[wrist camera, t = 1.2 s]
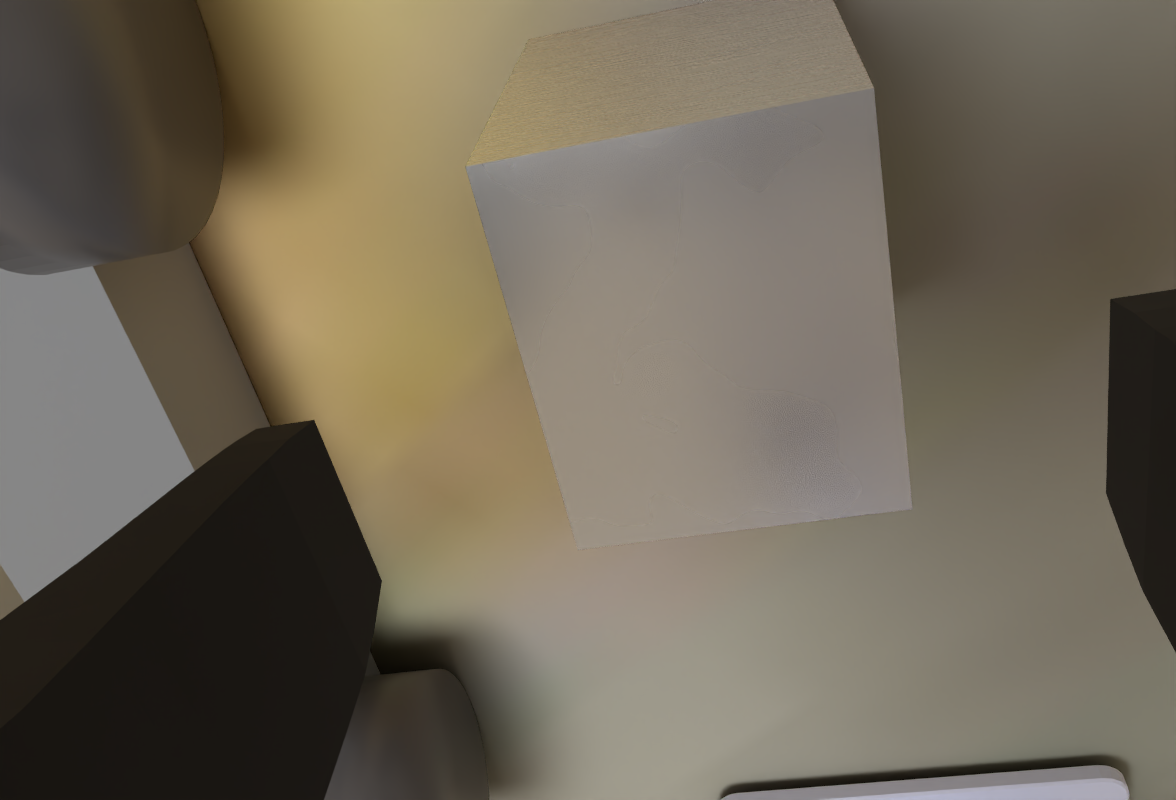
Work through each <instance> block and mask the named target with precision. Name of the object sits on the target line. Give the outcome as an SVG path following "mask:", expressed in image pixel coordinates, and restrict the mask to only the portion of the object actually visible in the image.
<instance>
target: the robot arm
mask: <svg viewBox="0 0 1176 800" xmlns="http://www.w3.org/2000/svg"><path fill="white" fill-rule="evenodd" d="M1106 494H1107V497H1108V500H1109V503H1110V505H1111V508H1112V511H1113V514H1114V516H1115V519H1116V522H1117V525H1118V527H1119V530H1120V533H1121V536H1122V538H1123V541H1124V544H1125V547H1126V549H1127V552H1128V554H1129V557H1130V559H1131V562H1132V565H1133V567H1134V570H1135V572H1136V575H1137V577H1138V580H1139V582H1140V585H1141V588H1142V590H1143V592H1144V594H1145V596H1146V598H1147V600H1148V602H1149V604H1150V605H1151V607H1152V609H1153V611H1154V613H1155V615H1156V617H1157V619H1158V620H1159V622H1160V624H1161V626H1162V628H1163V630H1164V631H1165V633H1166V635H1167V637H1168V639H1169V641H1170V642H1171V644H1172V646H1173V648H1174V650H1175V652H1176V289H1174V290H1168V291H1161V292H1154V293H1148V294H1141V295H1135V296H1128V297H1121V298H1115V299H1111V300H1110V345H1109V389H1108V433H1107V478H1106ZM381 582H382V580H381V578H380V576H379V573H378V571H377V568H376V566H375V564H374V561H373V559H372V557H371V554H370V552H369V549H368V547H367V545H366V542H365V540H364V538H363V535H362V533H361V530H360V528H359V526H358V523H357V521H356V519H355V516H354V514H353V511H352V509H351V507H350V504H349V502H348V499H347V497H346V495H345V492H344V490H343V488H342V485H341V483H340V480H339V478H338V476H337V473H336V471H335V469H334V466H333V464H332V461H331V459H330V457H329V454H328V452H327V450H326V447H325V445H324V442H323V440H322V438H321V435H320V433H319V431H318V428H317V426H316V423H315V421H314V420H311V421H304V422H298V423H291V424H284V425H278V426H271V427H265V428H258V429H255V430H253V431H252V432H250V433H248V434H247V435H245V436H243V437H242V438H240V439H238V440H237V441H235V442H234V443H232V444H231V445H229V446H228V447H227V448H225V449H224V450H222V451H221V452H220V453H218V454H217V455H215V456H214V457H213V458H211V459H210V460H209V461H207V462H206V463H205V464H203V465H202V466H201V467H199V468H198V469H197V470H195V471H194V472H193V473H192V474H190V475H189V476H188V477H186V478H185V479H184V480H182V481H181V482H180V483H179V484H177V485H176V486H175V487H174V488H172V489H171V490H170V491H168V492H167V493H166V494H165V495H163V496H162V497H161V498H160V499H158V500H157V501H156V502H154V503H153V504H152V505H151V506H149V507H148V508H147V509H146V510H144V511H143V512H142V513H140V514H139V515H138V516H137V517H135V518H134V519H133V520H132V521H130V522H129V523H128V524H127V525H125V526H124V527H123V528H121V529H120V530H119V531H118V532H116V533H115V534H114V535H113V536H111V537H110V538H109V539H107V540H106V541H105V542H104V543H102V544H101V545H100V546H99V547H97V548H96V549H95V550H93V551H92V552H91V553H90V554H88V555H87V556H86V557H84V558H83V559H82V560H81V561H79V562H78V563H77V564H75V565H74V566H72V567H71V568H70V569H68V570H67V571H66V572H64V573H63V574H62V575H60V576H59V577H58V578H56V579H55V580H54V581H52V582H51V583H49V584H48V585H47V586H45V587H44V588H43V589H41V590H40V591H39V592H37V593H36V594H35V595H33V596H32V597H31V598H29V599H28V600H26V601H25V602H24V603H22V604H21V605H20V606H18V607H17V608H16V609H14V610H13V611H12V612H10V613H9V614H8V615H6V616H5V617H4V618H2V619H1V620H0V800H324V798H325V795H326V792H327V789H328V786H329V783H330V781H331V778H332V775H333V772H334V769H335V766H336V763H337V760H338V757H339V754H340V751H341V748H342V745H343V742H344V739H345V736H346V733H347V730H348V726H349V723H350V720H351V717H352V714H353V711H354V708H355V705H356V702H357V699H358V696H359V693H360V689H361V686H362V683H363V680H364V676H365V673H366V668H367V663H368V658H369V653H370V648H371V643H372V638H373V633H374V627H375V621H376V614H377V608H378V602H379V595H380V589H381ZM721 800H1129V790H1128V787H1127V784H1126V782H1125V779H1124V777H1123V774H1122V773H1121V772H1120V771H1119V770H1117V769H1115V768H1113V767H1110V766H1106V765H1091V766H1078V767H1065V768H1052V769H1039V770H1026V771H1013V772H1001V773H988V774H975V775H962V776H949V777H936V778H923V779H910V780H897V781H885V782H872V783H859V784H846V785H833V786H820V787H807V788H794V789H781V790H769V791H756V792H743V793H734V794H730V795H727V796H726V797H724V798H722V799H721Z"/></svg>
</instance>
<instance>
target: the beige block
mask: <svg viewBox="0 0 1176 800" xmlns="http://www.w3.org/2000/svg"><path fill="white" fill-rule="evenodd" d="M465 167H466V170H467V174H468V177H469V181H470V184H471V187H472V191H473V194H474V198H475V201H476V204H477V208H478V211H479V215H480V218H481V221H482V225H483V228H484V232H485V235H486V239H487V242H488V245H489V249H490V252H491V256H492V259H493V262H494V266H495V269H496V273H497V276H498V279H499V283H500V286H501V290H502V293H503V296H504V300H505V303H506V307H507V310H508V314H509V317H510V320H511V324H512V327H513V331H514V334H515V337H516V341H517V344H518V348H519V351H520V354H521V358H522V361H523V365H524V368H525V371H526V375H527V378H528V382H529V385H530V389H531V392H532V395H533V399H534V402H535V406H536V409H537V412H538V416H539V419H540V423H541V426H542V429H543V433H544V436H545V440H546V443H547V447H548V450H549V453H550V457H551V460H552V464H553V467H554V470H555V474H556V477H557V481H558V484H559V487H560V491H561V494H562V498H563V501H564V504H565V508H566V511H567V515H568V518H569V522H570V525H571V528H572V532H573V535H574V539H575V542H576V545H577V549H578V550H584V549H592V548H600V547H608V546H616V545H625V544H633V543H641V542H649V541H657V540H665V539H673V538H682V537H690V536H698V535H706V534H714V533H722V532H730V531H739V530H747V529H755V528H763V527H771V526H779V525H787V524H796V523H804V522H812V521H820V520H828V519H836V518H844V517H853V516H861V515H869V514H877V513H885V512H893V511H901V510H910V509H912V498H911V487H910V476H909V465H908V454H907V443H906V432H905V421H904V410H903V399H902V388H901V377H900V366H899V355H898V345H897V334H896V323H895V312H894V301H893V290H892V279H891V268H890V257H889V246H888V235H887V224H886V213H885V202H884V191H883V181H882V170H881V159H880V148H879V137H878V126H877V115H876V104H875V93H874V87H873V85H872V82H871V80H870V78H869V76H868V74H867V72H866V70H865V67H864V65H863V63H862V61H861V59H860V57H859V55H858V52H857V50H856V48H855V46H854V44H853V42H852V40H851V37H850V35H849V33H848V31H847V29H846V27H845V24H844V22H843V20H842V18H841V16H840V14H839V12H838V9H837V7H836V5H835V3H834V1H833V0H712V1H708V2H703V3H698V4H694V5H689V6H684V7H680V8H675V9H670V10H665V11H661V12H656V13H651V14H647V15H642V16H637V17H632V18H628V19H623V20H618V21H614V22H609V23H604V24H600V25H595V26H590V27H585V28H581V29H576V30H571V31H567V32H562V33H557V34H552V35H548V36H543V37H538V38H534V39H529V40H528V41H527V43H526V45H525V47H524V49H523V51H522V53H521V55H520V58H519V60H518V62H517V64H516V66H515V68H514V70H513V72H512V74H511V76H510V78H509V80H508V82H507V84H506V86H505V88H504V90H503V92H502V94H501V96H500V98H499V100H498V102H497V104H496V106H495V108H494V110H493V112H492V114H491V116H490V118H489V120H488V122H487V124H486V126H485V128H484V130H483V132H482V134H481V136H480V138H479V140H478V142H477V144H476V146H475V148H474V150H473V152H472V154H471V156H470V158H469V160H468V162H467V164H466V166H465Z"/></svg>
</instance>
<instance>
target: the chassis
mask: <svg viewBox="0 0 1176 800" xmlns="http://www.w3.org/2000/svg"><path fill="white" fill-rule="evenodd" d="M223 160H224V125H223V112H222V104H221V96H220V89H219V84H218V78H217V73H216V68H215V64H214V60H213V56H212V52H211V48H210V44H209V41H208V37H207V34H206V31H205V28H204V24H203V21H202V18H201V15H200V13H199V10H198V7H197V4H196V2H195V0H0V620H1V619H2V618H4V617H5V616H6V615H8V614H9V613H10V612H12V611H13V610H14V609H16V608H17V607H18V606H20V605H21V604H22V603H24V602H25V601H26V600H28V599H29V598H31V597H32V596H33V595H35V594H36V593H37V592H39V591H40V590H41V589H43V588H44V587H45V586H47V585H48V584H49V583H51V582H52V581H54V580H55V579H56V578H58V577H59V576H60V575H62V574H63V573H64V572H66V571H67V570H68V569H70V568H71V567H72V566H74V565H75V564H77V563H78V562H79V561H81V560H82V559H83V558H84V557H86V556H87V555H88V554H90V553H91V552H92V551H93V550H95V549H96V548H97V547H99V546H100V545H101V544H102V543H104V542H105V541H106V540H107V539H109V538H110V537H111V536H113V535H114V534H115V533H116V532H118V531H119V530H120V529H121V528H123V527H124V526H125V525H127V524H128V523H129V522H130V521H132V520H133V519H134V518H135V517H137V516H138V515H139V514H140V513H142V512H143V511H144V510H146V509H147V508H148V507H149V506H151V505H152V504H153V503H154V502H156V501H157V500H158V499H160V498H161V497H162V496H163V495H165V494H166V493H167V492H168V491H170V490H171V489H172V488H174V487H175V486H176V485H177V484H179V483H180V482H181V481H182V480H184V479H185V478H186V477H188V476H189V475H190V474H192V473H193V472H194V471H195V470H197V469H198V468H199V467H201V466H202V465H203V464H205V463H206V462H207V461H209V460H210V459H211V458H213V457H214V456H215V455H217V454H218V453H220V452H221V451H222V450H224V449H225V448H227V447H228V446H229V445H231V444H232V443H234V442H235V441H237V440H238V439H240V438H242V437H243V436H245V435H247V434H248V433H250V432H252V431H253V430H255V429H258V428H265V427H270V424H269V422H268V420H267V418H266V415H265V413H264V411H263V409H262V406H261V404H260V402H259V400H258V397H257V395H256V393H255V391H254V388H253V386H252V384H251V382H250V379H249V377H248V375H247V372H246V370H245V368H244V366H243V363H242V361H241V359H240V357H239V354H238V352H237V350H236V348H235V345H234V343H233V341H232V339H231V336H230V334H229V332H228V330H227V327H226V325H225V323H224V321H223V318H222V316H221V314H220V312H219V309H218V307H217V305H216V303H215V300H214V298H213V296H212V294H211V291H210V289H209V287H208V285H207V282H206V280H205V278H204V276H203V273H202V271H201V269H200V267H199V264H198V262H197V260H196V257H195V255H194V253H193V251H192V248H191V246H190V244H189V242H190V241H191V240H192V239H194V238H195V237H196V236H197V235H198V234H199V232H200V231H201V230H202V228H203V227H204V226H205V224H206V223H207V221H208V219H209V217H210V215H211V213H212V211H213V208H214V205H215V202H216V199H217V196H218V192H219V188H220V183H221V178H222V170H223ZM324 800H489V787H488V776H487V769H486V761H485V755H484V749H483V744H482V739H481V735H480V730H479V726H478V723H477V719H476V716H475V713H474V710H473V707H472V705H471V702H470V700H469V698H468V695H467V693H466V692H465V690H464V688H463V686H462V685H461V683H460V682H459V681H458V679H457V678H456V677H455V676H454V675H453V674H452V673H451V672H449V671H447V670H445V669H431V670H421V671H411V672H402V673H392V674H382V675H380V672H379V670H378V668H377V666H376V663H375V661H374V659H373V657H372V654H371V652H370V653H369V658H368V663H367V668H366V673H365V676H364V680H363V683H362V686H361V689H360V693H359V696H358V699H357V702H356V705H355V708H354V711H353V714H352V717H351V720H350V723H349V726H348V730H347V733H346V736H345V739H344V742H343V745H342V748H341V751H340V754H339V757H338V760H337V763H336V766H335V769H334V772H333V775H332V778H331V781H330V783H329V786H328V789H327V792H326V795H325V798H324Z"/></svg>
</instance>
